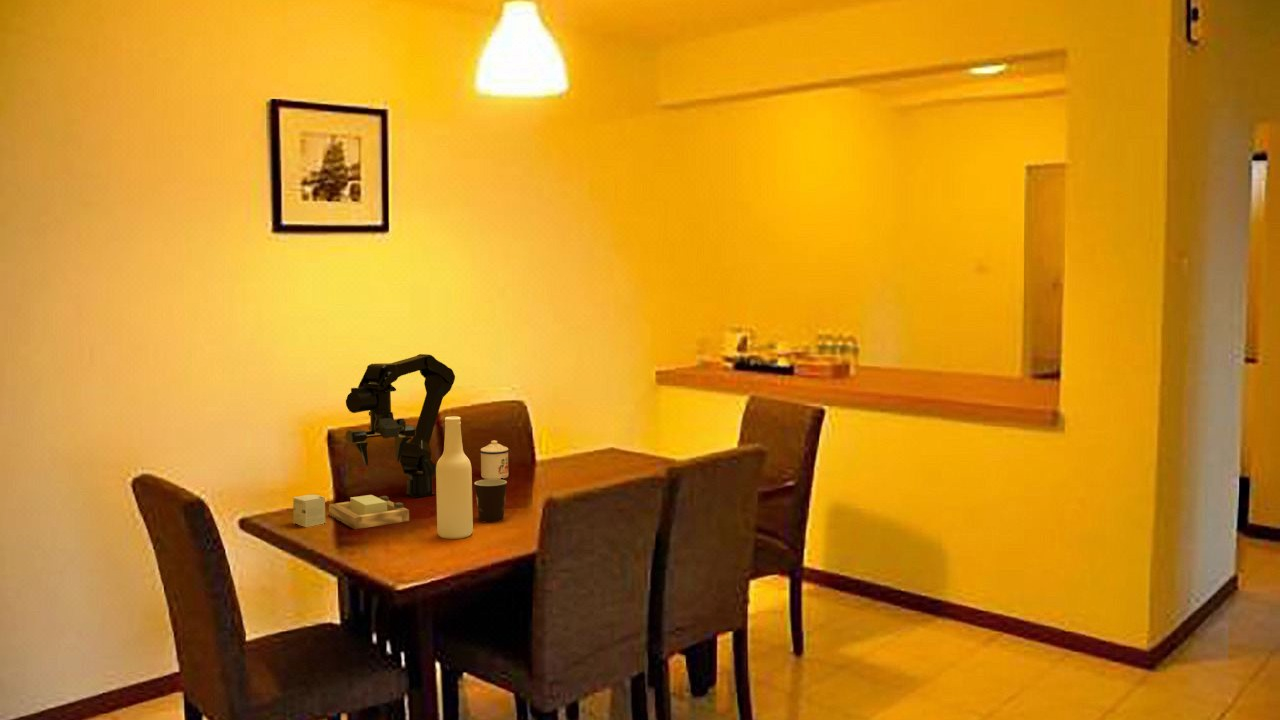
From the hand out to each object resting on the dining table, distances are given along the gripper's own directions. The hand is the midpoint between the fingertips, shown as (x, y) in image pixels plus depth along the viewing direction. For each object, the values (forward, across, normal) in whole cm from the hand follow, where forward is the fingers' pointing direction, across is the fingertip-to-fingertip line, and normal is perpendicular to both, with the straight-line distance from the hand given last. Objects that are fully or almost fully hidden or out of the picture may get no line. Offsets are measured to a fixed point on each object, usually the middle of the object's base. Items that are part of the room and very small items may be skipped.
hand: (382, 463), depth 301 cm
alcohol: (+12, +2, -42) cm, 44 cm away
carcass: (+12, -9, -12) cm, 19 cm away
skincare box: (+12, -24, -9) cm, 28 cm away
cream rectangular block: (+11, -9, -12) cm, 19 cm away
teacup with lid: (+12, +45, +17) cm, 50 cm away
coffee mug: (+12, +18, -32) cm, 39 cm away
